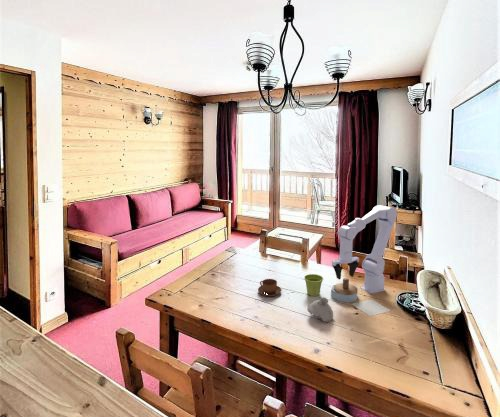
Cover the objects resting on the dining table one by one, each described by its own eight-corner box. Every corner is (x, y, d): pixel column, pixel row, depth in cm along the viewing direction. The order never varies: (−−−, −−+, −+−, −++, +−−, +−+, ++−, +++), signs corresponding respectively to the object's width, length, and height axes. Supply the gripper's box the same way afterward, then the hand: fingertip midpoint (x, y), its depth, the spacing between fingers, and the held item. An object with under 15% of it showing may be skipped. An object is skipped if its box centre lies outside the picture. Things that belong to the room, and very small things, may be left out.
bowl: (346, 289, 165) (346, 282, 165) (362, 299, 154) (362, 292, 154) (326, 294, 161) (327, 286, 160) (341, 304, 150) (342, 296, 149)
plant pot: (323, 298, 156) (323, 282, 155) (303, 297, 158) (303, 280, 157) (322, 290, 165) (323, 274, 164) (304, 289, 167) (304, 273, 166)
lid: (351, 284, 162) (351, 274, 161) (361, 294, 152) (362, 283, 151) (330, 286, 161) (330, 275, 160) (339, 295, 150) (339, 284, 149)
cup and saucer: (254, 296, 160) (254, 284, 159) (262, 286, 171) (262, 275, 170) (277, 299, 156) (277, 288, 155) (283, 289, 167) (283, 278, 166)
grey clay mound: (338, 323, 139) (344, 304, 135) (317, 331, 133) (323, 312, 129) (319, 305, 148) (325, 287, 144) (300, 312, 142) (304, 293, 138)
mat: (371, 300, 154) (371, 299, 154) (390, 311, 143) (391, 310, 143) (351, 304, 150) (351, 304, 150) (369, 317, 139) (369, 316, 139)
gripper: (352, 246, 160) (351, 272, 162) (328, 250, 154) (327, 276, 157) (362, 250, 153) (361, 277, 156) (337, 254, 148) (336, 282, 150)
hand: (344, 277), depth 156 cm, fingers open, 7 cm apart
